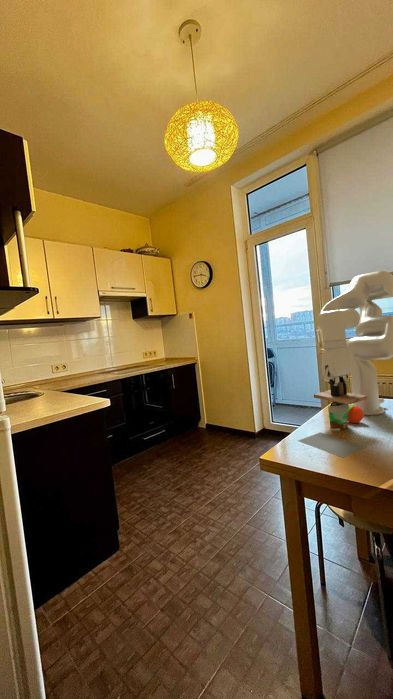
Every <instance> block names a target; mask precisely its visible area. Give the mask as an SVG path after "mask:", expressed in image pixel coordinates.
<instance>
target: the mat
mask: <svg viewBox="0 0 393 699" xmlns="http://www.w3.org/2000/svg"><path fill="white" fill-rule="evenodd" d="M297 441H298V442H299V443H303V444H305V445H308V446H310V447H314V448H316V449H318V450H320V451H323V452H327V453H330V454H331V455H335V456H336V457H339V458H343V459H344V458H345V457H348V456H350V455H352V454H354V453H356V452H360V451H361V450H363V449H365V448H367V446H364V445H362V444H358V443H356V442H352V441H349V440H346V439H343V438H339V437H337V436H332V435H330V434H326V433H323V432H317V433H315V434H312V435H309V436H306V437H304V438H301V439H298V440H297Z"/></svg>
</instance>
